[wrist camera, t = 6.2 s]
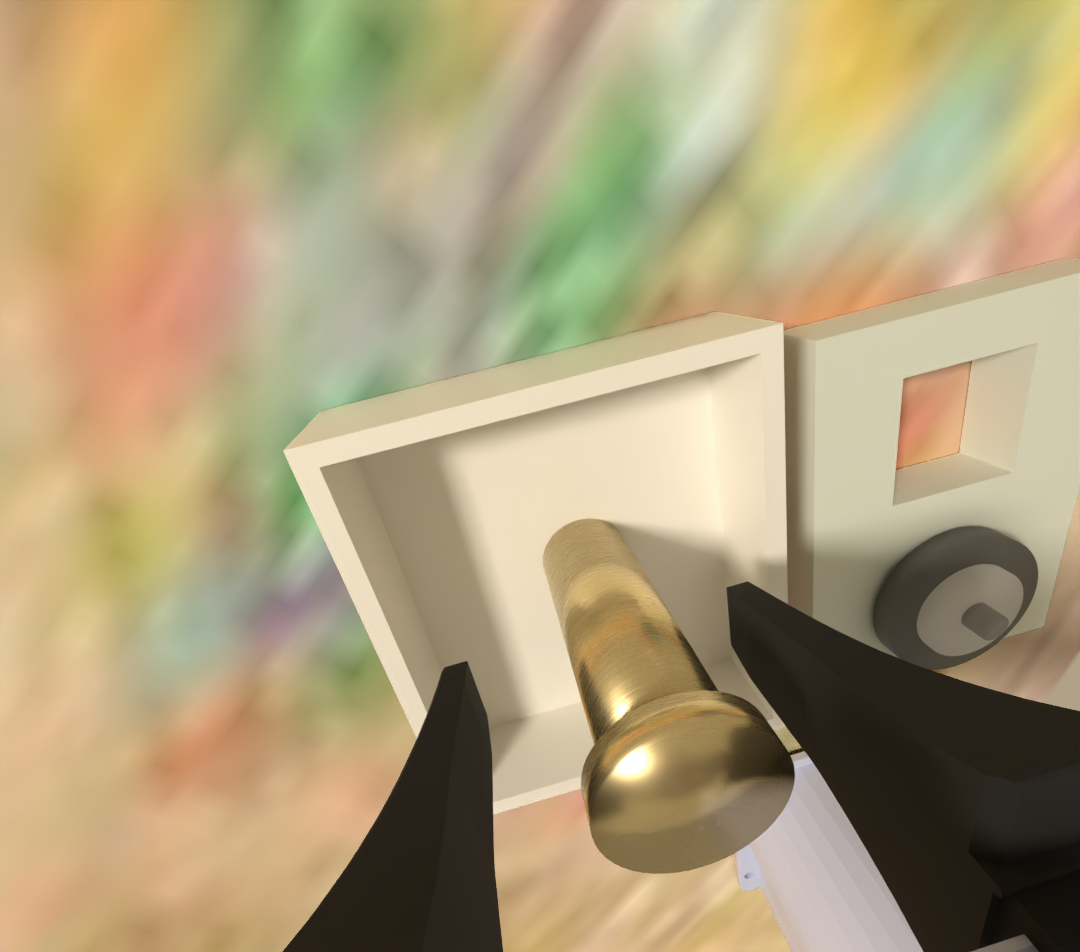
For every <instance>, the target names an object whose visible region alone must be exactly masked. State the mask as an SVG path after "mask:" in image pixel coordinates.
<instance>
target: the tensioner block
mask: <svg viewBox="0 0 1080 952" xmlns="http://www.w3.org/2000/svg"><path fill="white" fill-rule="evenodd" d="M783 334H784V396H785V458H786V521H787V583H788V605H790V606H792V607H794V608H795V609H797V610H799V611H801V612H803V613H804V614H806V615H808V616H810V617H812V618H814V619H816V620H817V621H819V622H821V623H823V624H825V625H827V626H829V627H831V628H833V629H835V630H837V631H839V632H841V633H843V634H845V635H847V636H849V637H851V638H854V639H856V640H858V641H860V642H862V643H864V644H866V645H869V646H871V647H873V648H875V649H878V650H880V651H882V652H885V653H887V654H890V655H892V656H895V657H897V658H900V659H902V660H905V661H907V662H910V663H912V664H915V665H918V666H920V667H923V668H926V669H928V670H937V669H944V668H949V667H953V666H956V665H959V664H962V663H964V662H967V661H969V660H971V659H973V658H975V657H977V656H979V655H981V654H982V653H984V652H985V651H987V650H988V649H990V648H991V647H993V646H994V645H995V644H997V643H998V642H999V641H1000V640H1001V639H1004V638H1007V637H1011V636H1014V635H1018V634H1021V633H1024V632H1028V631H1031V630H1034V629H1038V628H1041V627H1044V624H1045V620H1046V616H1047V612H1048V608H1049V605H1050V601H1051V597H1052V593H1053V589H1054V585H1055V581H1056V577H1057V573H1058V569H1059V565H1060V561H1061V558H1062V554H1063V550H1064V546H1065V542H1066V538H1067V534H1068V530H1069V526H1070V522H1071V518H1072V514H1073V510H1074V507H1075V503H1076V499H1077V495H1078V491H1079V487H1080V259H1059V260H1055V261H1051V262H1048V263H1044V264H1040V265H1036V266H1032V267H1028V268H1024V269H1020V270H1016V271H1012V272H1009V273H1005V274H1001V275H997V276H993V277H989V278H985V279H981V280H977V281H973V282H970V283H966V284H962V285H958V286H954V287H950V288H946V289H942V290H938V291H934V292H931V293H927V294H923V295H919V296H915V297H911V298H907V299H903V300H899V301H895V302H892V303H888V304H884V305H880V306H876V307H872V308H868V309H864V310H860V311H857V312H853V313H849V314H845V315H841V316H837V317H833V318H829V319H825V320H821V321H818V322H814V323H810V324H806V325H802V326H798V327H794V328H790V329H786V330H783ZM971 360H972V364H971V371H970V379H969V386H968V393H967V400H966V407H965V414H964V422H963V429H962V436H961V443H960V450H959V453H956V454H952V455H948V456H945V457H941V458H937V459H934V460H930V461H926V462H923V463H919V464H916V465H912V466H908V467H905V468H901V469H897V470H896V459H897V447H898V435H899V424H900V412H901V400H902V388H903V378H907V377H911V376H915V375H919V374H922V373H926V372H930V371H934V370H937V369H941V368H945V367H949V366H952V365H956V364H960V363H964V362H967V361H971Z"/></svg>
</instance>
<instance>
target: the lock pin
mask: <svg viewBox="0 0 1080 952" xmlns="http://www.w3.org/2000/svg"><path fill="white" fill-rule="evenodd" d="M543 567H544V571H545V575H546V578H547V582H548V585H549V589H550V592H551V596H552V599H553V603H554V606H555V610H556V613H557V617H558V620H559V624H560V627H561V631H562V634H563V638H564V641H565V645H566V648H567V652H568V655H569V659H570V662H571V666H572V669H573V673H574V676H575V680H576V683H577V687H578V690H579V694H580V697H581V701H582V704H583V708H584V711H585V715H586V718H587V722H588V725H589V729H590V732H591V736H592V739H593V743H594V746H593V747H592V749H591V751H590V753H589V754H588V756H587V758H586V761H585V763H584V766H583V769H582V774H581V790H582V796H583V800H584V804H585V809H586V813H587V817H588V821H589V826H590V830H591V834H592V837H593V840H594V843H595V845H596V846H597V848H598V849H599V851H600V852H601V853H602V854H603V855H604V856H605V857H606V858H607V859H609V860H610V861H611V862H613V863H615V864H617V865H619V866H621V867H623V868H626V869H629V870H632V871H637V872H642V873H654V874H657V873H675V872H682V871H687V870H692V869H696V868H699V867H703V866H706V865H709V864H712V863H714V862H717V861H719V860H721V859H724V858H726V857H728V856H730V855H732V854H734V853H736V852H738V851H739V850H741V849H742V848H744V847H746V846H747V845H749V844H750V843H751V842H753V841H754V840H755V839H757V838H758V837H759V836H760V835H762V834H763V833H764V832H765V831H766V830H767V829H768V828H769V827H770V826H771V825H772V824H773V823H774V822H775V821H776V819H777V818H778V817H779V815H780V814H781V813H782V811H783V810H784V808H785V806H786V805H787V803H788V801H789V799H790V796H791V794H792V791H793V787H794V781H795V770H794V764H793V761H792V758H791V756H790V754H789V753H788V751H787V749H786V748H785V746H784V745H783V744H782V742H781V741H780V739H779V738H778V736H777V735H776V733H775V732H774V730H773V729H772V727H771V726H770V724H769V723H768V722H767V720H766V719H765V717H764V716H763V714H762V713H761V712H760V711H759V710H758V709H757V708H756V707H755V706H754V705H753V704H751V703H750V702H748V701H746V700H745V699H743V698H741V697H738V696H735V695H733V694H729V693H724V692H720V691H718V689H717V688H716V686H715V684H714V683H713V681H712V680H711V678H710V676H709V675H708V673H707V671H706V670H705V668H704V667H703V665H702V663H701V662H700V660H699V658H698V657H697V655H696V654H695V652H694V650H693V649H692V647H691V645H690V644H689V642H688V641H687V639H686V637H685V636H684V634H683V632H682V631H681V629H680V628H679V626H678V624H677V623H676V621H675V619H674V618H673V616H672V615H671V613H670V611H669V610H668V608H667V606H666V605H665V603H664V602H663V600H662V598H661V597H660V595H659V593H658V592H657V590H656V589H655V587H654V585H653V584H652V582H651V581H650V579H649V577H648V576H647V574H646V572H645V571H644V569H643V568H642V566H641V564H640V563H639V561H638V559H637V558H636V556H635V555H634V553H633V551H632V550H631V548H630V546H629V545H628V543H627V542H626V540H625V538H624V537H623V535H622V533H621V532H620V531H619V530H618V529H617V528H616V527H615V526H614V525H612V524H610V523H608V522H606V521H603V520H600V519H590V518H589V519H581V520H577V521H573V522H571V523H569V524H567V525H565V526H563V527H562V528H560V529H559V530H558V531H557V532H556V533H555V534H554V535H553V536H552V537H551V538H550V540H549V541H548V543H547V545H546V547H545V550H544V554H543Z"/></svg>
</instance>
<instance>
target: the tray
mask: <svg viewBox="0 0 1080 952" xmlns="http://www.w3.org/2000/svg"><path fill="white" fill-rule="evenodd" d="M283 452H284V454H285V456H286V458H287V460H288V463H289V465H290V467H291V469H292V471H293V473H294V475H295V478H296V480H297V482H298V484H299V486H300V488H301V490H302V493H303V495H304V497H305V499H306V501H307V503H308V506H309V508H310V510H311V512H312V514H313V516H314V518H315V521H316V523H317V525H318V527H319V529H320V531H321V533H322V536H323V538H324V540H325V542H326V544H327V546H328V549H329V551H330V553H331V555H332V557H333V559H334V561H335V564H336V566H337V568H338V570H339V572H340V574H341V576H342V579H343V581H344V583H345V585H346V587H347V589H348V592H349V594H350V596H351V598H352V600H353V602H354V604H355V607H356V609H357V611H358V613H359V615H360V617H361V619H362V622H363V624H364V626H365V628H366V630H367V632H368V635H369V637H370V639H371V641H372V643H373V645H374V647H375V650H376V652H377V654H378V656H379V658H380V660H381V662H382V665H383V667H384V669H385V671H386V673H387V675H388V678H389V680H390V682H391V684H392V686H393V688H394V690H395V693H396V695H397V697H398V699H399V701H400V703H401V705H402V708H403V710H404V712H405V714H406V716H407V718H408V721H409V723H410V725H411V727H412V729H413V731H414V733H415V736H416V738H417V737H418V735H419V733H420V730H421V728H422V725H423V723H424V720H425V718H426V715H427V713H428V710H429V707H430V705H431V702H432V699H433V696H434V694H435V691H436V688H437V685H438V682H439V679H440V676H441V672H442V670H443V669H444V667H447V666H451V665H454V664H458V663H461V662H465V661H467V662H468V664H469V667H470V670H471V672H472V675H473V678H474V681H475V683H476V686H477V689H478V691H479V694H480V697H481V700H482V702H483V705H484V708H485V710H486V713H487V717H488V725H489V732H490V740H491V749H492V772H493V815H494V814H497V813H500V812H504V811H507V810H510V809H514V808H517V807H520V806H524V805H527V804H530V803H533V802H537V801H540V800H543V799H547V798H550V797H553V796H557V795H560V794H563V793H567V792H570V791H573V790H577V789H580V788H581V774H582V769H583V766H584V763H585V761H586V758H587V756H588V754H589V753H590V751H591V749H592V747H593V746H594V743H593V739H592V736H591V732H590V729H589V725H588V722H587V718H586V715H585V711H584V708H583V704H582V701H581V697H580V694H579V690H578V687H577V683H576V680H575V676H574V673H573V669H572V666H571V662H570V659H569V655H568V652H567V648H566V645H565V641H564V638H563V634H562V631H561V627H560V624H559V620H558V617H557V613H556V610H555V606H554V603H553V599H552V596H551V592H550V589H549V585H548V582H547V578H546V575H545V571H544V567H543V554H544V550H545V547H546V545H547V543H548V541H549V540H550V538H551V537H552V536H553V535H554V534H555V533H556V532H557V531H558V530H559V529H560V528H562V527H563V526H565V525H567V524H569V523H571V522H573V521H577V520H581V519H589V518H590V519H600V520H603V521H606V522H608V523H610V524H612V525H614V526H615V527H616V528H617V529H618V530H619V531H620V532H621V533H622V535H623V537H624V538H625V540H626V542H627V543H628V545H629V546H630V548H631V550H632V551H633V553H634V555H635V556H636V558H637V559H638V561H639V563H640V564H641V566H642V568H643V569H644V571H645V572H646V574H647V576H648V577H649V579H650V581H651V582H652V584H653V585H654V587H655V589H656V590H657V592H658V593H659V595H660V597H661V598H662V600H663V602H664V603H665V605H666V606H667V608H668V610H669V611H670V613H671V615H672V616H673V618H674V619H675V621H676V623H677V624H678V626H679V628H680V629H681V631H682V632H683V634H684V636H685V637H686V639H687V641H688V642H689V644H690V645H691V647H692V649H693V650H694V652H695V654H696V655H697V657H698V658H699V660H700V662H701V663H702V665H703V667H704V668H705V670H706V671H707V673H708V675H709V676H710V678H711V680H712V681H713V683H714V684H715V686H716V688H717V689H718V691H720V692H724V693H729V694H733V695H735V696H738V697H741V698H743V699H745V700H746V701H748V702H750V703H751V704H753V705H754V706H755V707H756V708H757V709H758V710H759V711H760V712H761V713H762V714H763V716H764V717H765V719H766V720H767V722H768V723H769V724H770V726H771V727H772V729H773V730H776V729H780V728H783V727H786V726H785V724H784V723H783V722H782V720H781V719H780V718H779V716H778V715H777V714H776V712H775V711H774V710H773V708H772V707H771V706H770V704H769V703H768V702H767V700H766V699H765V698H764V696H763V695H762V694H761V692H760V691H759V690H758V688H757V687H756V685H755V684H754V683H753V681H752V680H751V679H750V677H749V675H748V674H747V672H746V670H745V668H744V667H743V665H742V663H741V662H740V660H739V658H738V656H737V655H736V653H735V651H734V649H733V647H732V646H731V640H730V627H729V614H728V601H727V589H726V587H730V586H733V585H737V584H740V583H744V582H747V581H748V582H750V583H752V584H753V585H755V586H757V587H759V588H761V589H762V590H764V591H766V592H767V593H769V594H771V595H773V596H774V597H776V598H778V599H780V600H781V601H783V602H785V603H787V604H788V583H787V521H786V458H785V396H784V334H783V323H781V322H775V321H769V320H763V319H757V318H752V317H746V316H740V315H734V314H728V313H722V312H716V311H715V312H711V313H707V314H703V315H699V316H695V317H691V318H687V319H683V320H679V321H675V322H671V323H667V324H663V325H659V326H655V327H651V328H647V329H643V330H639V331H635V332H632V333H628V334H624V335H620V336H616V337H612V338H608V339H604V340H600V341H596V342H592V343H588V344H584V345H580V346H576V347H572V348H568V349H564V350H560V351H556V352H552V353H548V354H544V355H540V356H536V357H532V358H529V359H525V360H521V361H517V362H513V363H509V364H505V365H501V366H497V367H493V368H489V369H485V370H481V371H477V372H473V373H469V374H465V375H461V376H457V377H453V378H449V379H445V380H441V381H437V382H433V383H429V384H426V385H422V386H418V387H414V388H410V389H406V390H402V391H398V392H394V393H390V394H386V395H382V396H378V397H374V398H370V399H366V400H362V401H358V402H354V403H350V404H346V405H342V406H338V407H334V408H330V409H327V410H323V411H321V412H320V413H319V414H318V415H317V416H316V417H315V418H314V419H313V420H312V421H311V422H310V423H309V424H308V425H307V426H306V427H305V428H304V429H303V430H302V431H301V432H300V434H299V435H298V436H297V437H296V438H295V439H294V440H293V441H292V442H291V443H290V444H289V445H288V446H287V447H286V448H285V449H284V450H283Z"/></svg>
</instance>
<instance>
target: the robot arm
mask: <svg viewBox="0 0 1080 952" xmlns="http://www.w3.org/2000/svg"><path fill="white" fill-rule="evenodd" d="M726 589H727V601H728V614H729V627H730V640H731V646H732V647H733V649H734V651H735V653H736V655H737V656H738V658H739V660H740V662H741V663H742V665H743V667H744V668H745V670H746V672H747V674H748V675H749V677H750V679H751V680H752V681H753V683H754V684H755V685H756V687H757V688H758V690H759V691H760V692H761V694H762V695H763V696H764V698H765V699H766V700H767V702H768V703H769V704H770V706H771V707H772V708H773V710H774V711H775V712H776V714H777V715H778V716H779V718H780V719H781V720H782V722H783V723H784V724H785V726H786V727H787V728H788V730H789V731H790V732H791V734H792V735H793V736H794V738H795V739H796V740H797V742H798V743H799V744H800V746H801V747H802V748H803V750H804V751H803V752H799V753H796V754H793V755H790V756H791V758H792V761H793V764H794V770H795V781H794V787H793V791H792V794H791V796H790V799H789V801H788V803H787V805H786V806H785V808H784V810H783V811H782V813H781V814H780V815H779V817H778V818H777V819H776V821H775V822H774V823H773V824H772V825H771V826H770V827H769V828H768V829H767V830H766V831H765V832H764V833H763V834H762V835H760V836H759V837H758V838H757V839H755V840H754V841H753V842H751V843H750V844H749V845H747V846H746V847H744V848H742V849H741V850H739V851H738V852H736V853H735V857H736V867H737V878H738V883H739V885H740V887H741V889H742V890H744V891H751V890H754V889H757V888H761V890H762V892H763V894H764V896H765V898H766V900H767V902H768V904H769V906H770V908H771V911H772V913H773V915H774V917H775V919H776V921H777V923H778V925H779V927H780V929H781V931H782V933H783V935H784V937H785V939H786V941H787V943H788V945H789V947H790V949H791V952H1080V711H1076V710H1071V709H1067V708H1062V707H1058V706H1053V705H1049V704H1045V703H1040V702H1036V701H1032V700H1028V699H1024V698H1020V697H1016V696H1013V695H1009V694H1005V693H1002V692H998V691H994V690H991V689H987V688H984V687H981V686H977V685H974V684H971V683H967V682H964V681H961V680H958V679H955V678H952V677H949V676H946V675H943V674H940V673H937V672H934V671H931V670H928V669H926V668H923V667H920V666H918V665H915V664H912V663H910V662H907V661H905V660H902V659H900V658H897V657H895V656H892V655H890V654H887V653H885V652H882V651H880V650H878V649H875V648H873V647H871V646H869V645H866V644H864V643H862V642H860V641H858V640H856V639H854V638H851V637H849V636H847V635H845V634H843V633H841V632H839V631H837V630H835V629H833V628H831V627H829V626H827V625H825V624H823V623H821V622H819V621H817V620H816V619H814V618H812V617H810V616H808V615H806V614H804V613H803V612H801V611H799V610H797V609H795V608H794V607H792V606H790V605H788V604H787V603H785V602H783V601H781V600H780V599H778V598H776V597H774V596H773V595H771V594H769V593H767V592H766V591H764V590H762V589H761V588H759V587H757V586H755V585H753V584H752V583H750V582H748V581H747V582H744V583H740V584H737V585H733V586H730V587H726ZM283 952H503V946H502V937H501V928H500V919H499V909H498V899H497V889H496V879H495V867H494V845H493V772H492V749H491V740H490V732H489V725H488V717H487V713H486V710H485V708H484V705H483V702H482V700H481V697H480V694H479V691H478V689H477V686H476V683H475V681H474V678H473V675H472V672H471V670H470V667H469V664H468V662H467V661H465V662H461V663H458V664H454V665H451V666H447V667H444V669H443V670H442V672H441V676H440V679H439V682H438V685H437V688H436V691H435V694H434V696H433V699H432V702H431V705H430V707H429V710H428V713H427V715H426V718H425V720H424V723H423V725H422V728H421V730H420V733H419V735H418V737H417V740H416V742H415V744H414V747H413V749H412V751H411V753H410V755H409V758H408V760H407V762H406V764H405V766H404V768H403V770H402V772H401V775H400V777H399V779H398V781H397V783H396V785H395V787H394V788H393V790H392V792H391V794H390V796H389V798H388V800H387V802H386V803H385V805H384V807H383V809H382V811H381V812H380V814H379V816H378V818H377V819H376V821H375V823H374V824H373V826H372V828H371V829H370V831H369V832H368V834H367V836H366V837H365V839H364V841H363V842H362V844H361V846H360V847H359V849H358V850H357V852H356V853H355V855H354V856H353V858H352V860H351V861H350V863H349V864H348V866H347V867H346V869H345V870H344V871H343V873H342V874H341V876H340V877H339V878H338V880H337V881H336V883H335V884H334V885H333V887H332V888H331V890H330V891H329V892H328V894H327V895H326V897H325V898H324V899H323V901H322V902H321V904H320V905H319V907H318V908H317V909H316V911H315V912H314V913H313V914H312V916H311V917H310V918H309V920H308V921H307V922H306V924H305V925H304V926H303V927H302V929H301V930H300V931H299V932H298V933H297V935H296V936H295V937H294V938H293V940H292V941H291V942H290V943H289V945H288V946H287V947H286V948H285V949H284V951H283Z"/></svg>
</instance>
